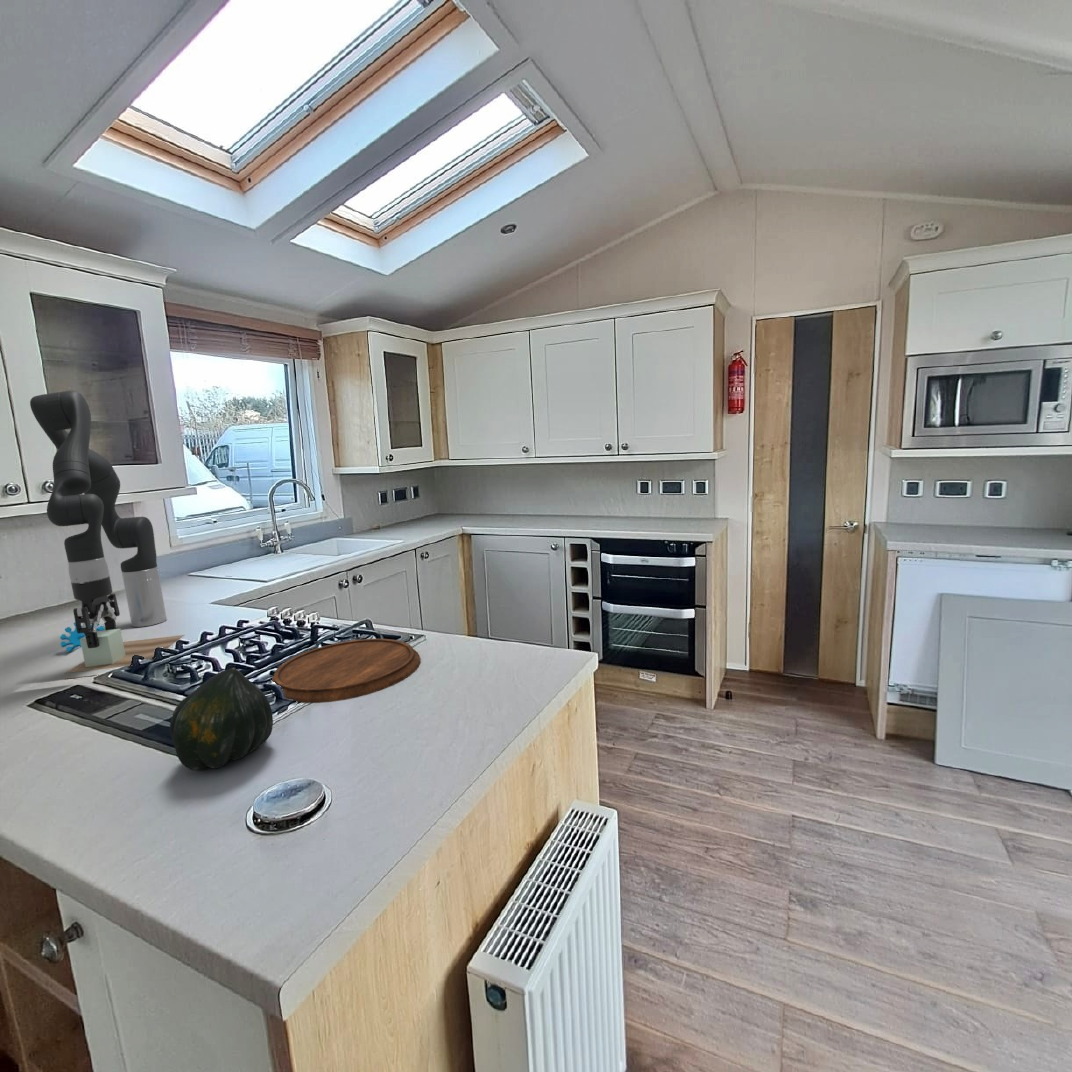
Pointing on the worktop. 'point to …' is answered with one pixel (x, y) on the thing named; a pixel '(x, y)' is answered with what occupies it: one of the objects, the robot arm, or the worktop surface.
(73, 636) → the gear
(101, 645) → the pale green block
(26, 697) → the worktop surface
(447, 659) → the worktop surface
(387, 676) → the cutting board
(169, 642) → the board
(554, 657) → the worktop surface
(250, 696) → the squash
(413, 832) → the worktop surface
